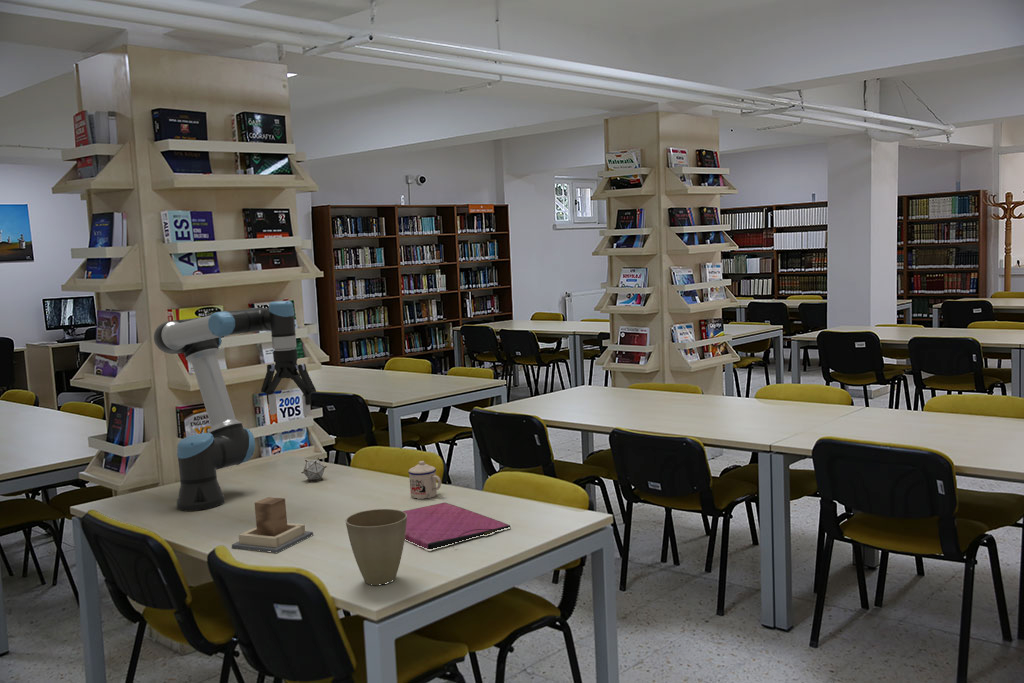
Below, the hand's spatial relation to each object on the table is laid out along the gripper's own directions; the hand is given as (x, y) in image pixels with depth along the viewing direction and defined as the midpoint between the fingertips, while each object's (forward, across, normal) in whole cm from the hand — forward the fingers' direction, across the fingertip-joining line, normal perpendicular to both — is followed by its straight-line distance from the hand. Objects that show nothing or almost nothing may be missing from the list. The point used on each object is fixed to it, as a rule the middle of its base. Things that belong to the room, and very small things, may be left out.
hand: (290, 414), depth 284 cm
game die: (+31, +17, -31) cm, 47 cm away
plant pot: (+31, -64, +48) cm, 86 cm away
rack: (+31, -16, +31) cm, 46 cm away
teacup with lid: (+31, -36, -22) cm, 52 cm away
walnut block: (+30, -16, +31) cm, 46 cm away
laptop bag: (+31, -58, +7) cm, 66 cm away
